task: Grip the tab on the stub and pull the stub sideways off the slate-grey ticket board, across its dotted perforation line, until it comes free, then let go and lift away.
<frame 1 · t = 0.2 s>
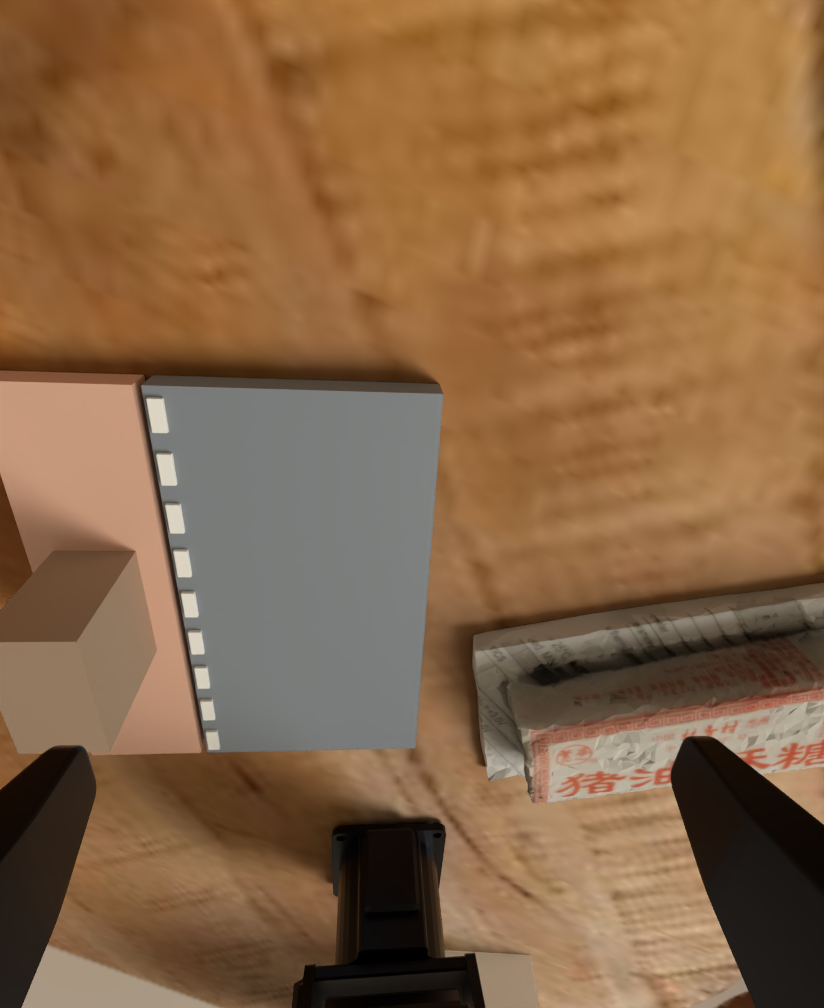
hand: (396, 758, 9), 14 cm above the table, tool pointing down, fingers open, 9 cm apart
stub: (87, 635, 21), point 3 cm above the table, slide at 0.0 cm
milk: (432, 987, 43), on the table
packaged product: (647, 670, 29), on the table
ticket board: (308, 585, 24), on the table
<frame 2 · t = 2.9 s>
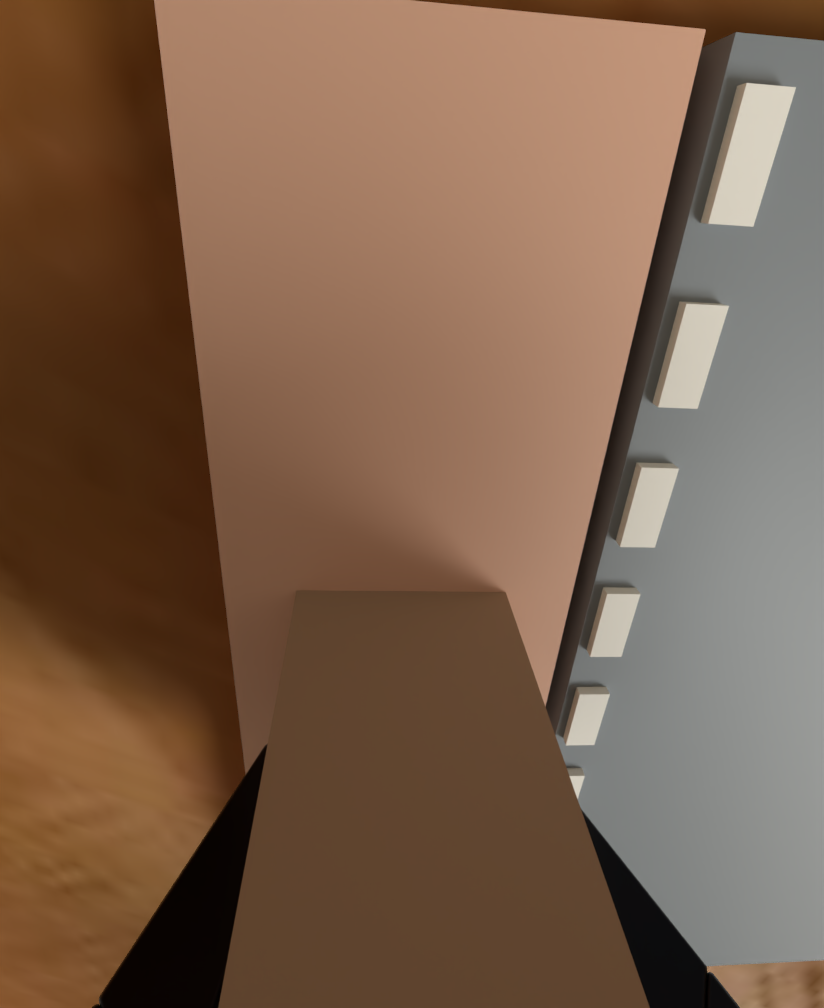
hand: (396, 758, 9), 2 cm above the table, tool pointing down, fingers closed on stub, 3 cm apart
stub: (400, 827, 8), point 3 cm above the table, slide at 0.0 cm, touching gripper
ticket board: (793, 661, 11), on the table
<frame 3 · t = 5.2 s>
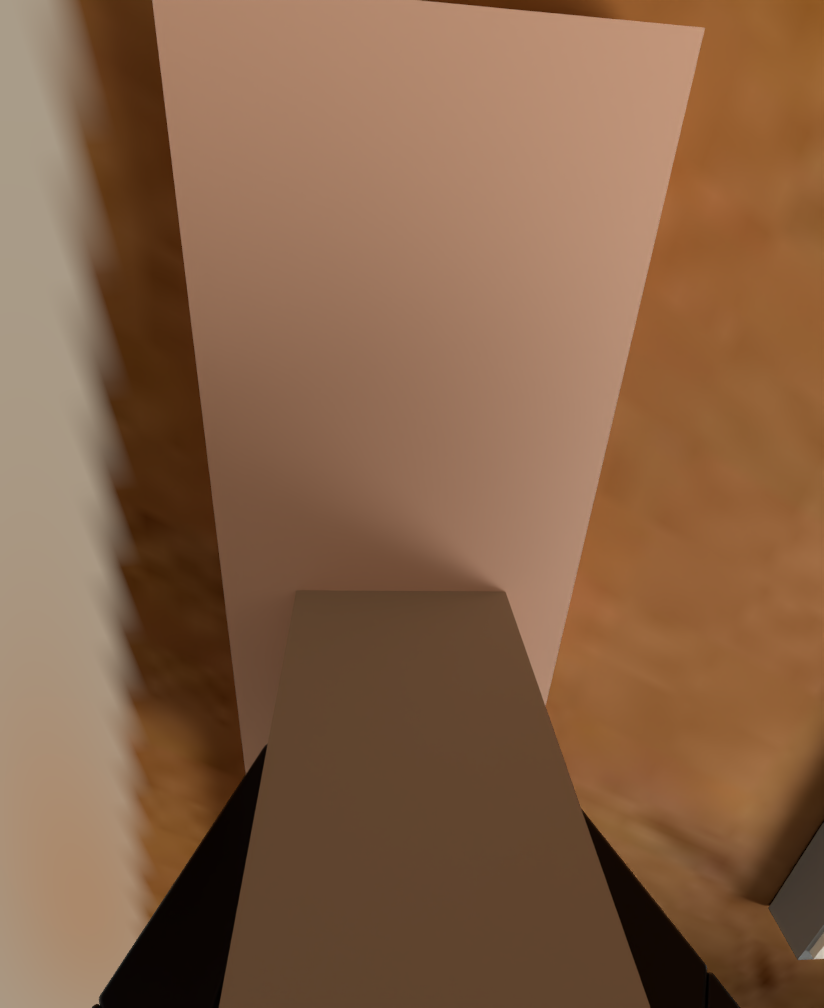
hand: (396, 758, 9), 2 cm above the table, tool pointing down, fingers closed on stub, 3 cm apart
stub: (400, 827, 8), point 3 cm above the table, slide at 7.8 cm, touching gripper
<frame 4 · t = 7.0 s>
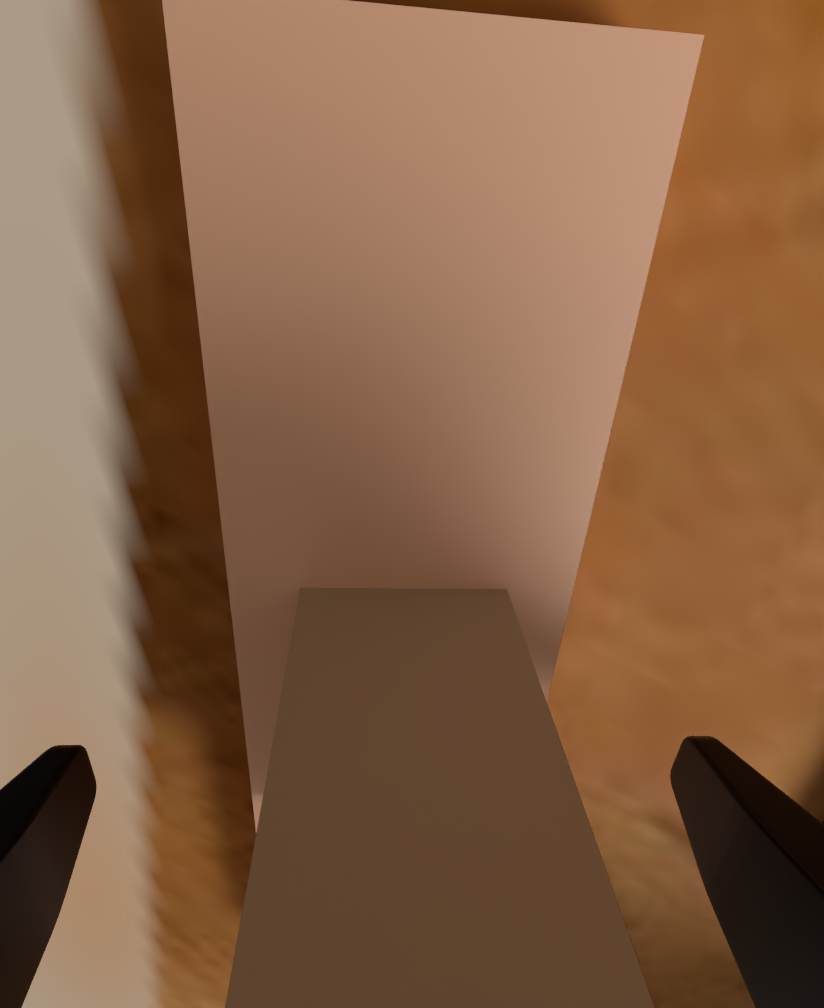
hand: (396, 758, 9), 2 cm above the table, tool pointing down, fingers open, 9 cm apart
stub: (403, 822, 8), point 3 cm above the table, slide at 8.0 cm
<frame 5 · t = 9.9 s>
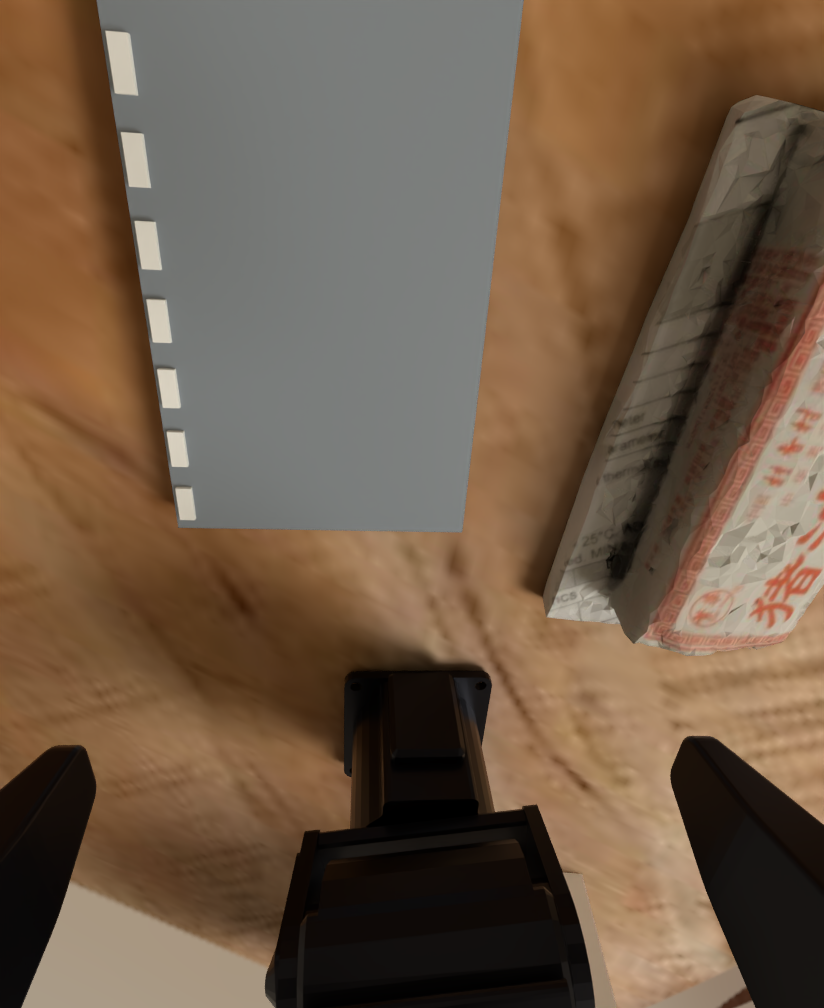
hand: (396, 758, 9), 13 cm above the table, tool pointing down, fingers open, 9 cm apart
milk: (460, 917, 36), on the table
packaged product: (728, 416, 21), on the table
ticket board: (321, 251, 17), on the table
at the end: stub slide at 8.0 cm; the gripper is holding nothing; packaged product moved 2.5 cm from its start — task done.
